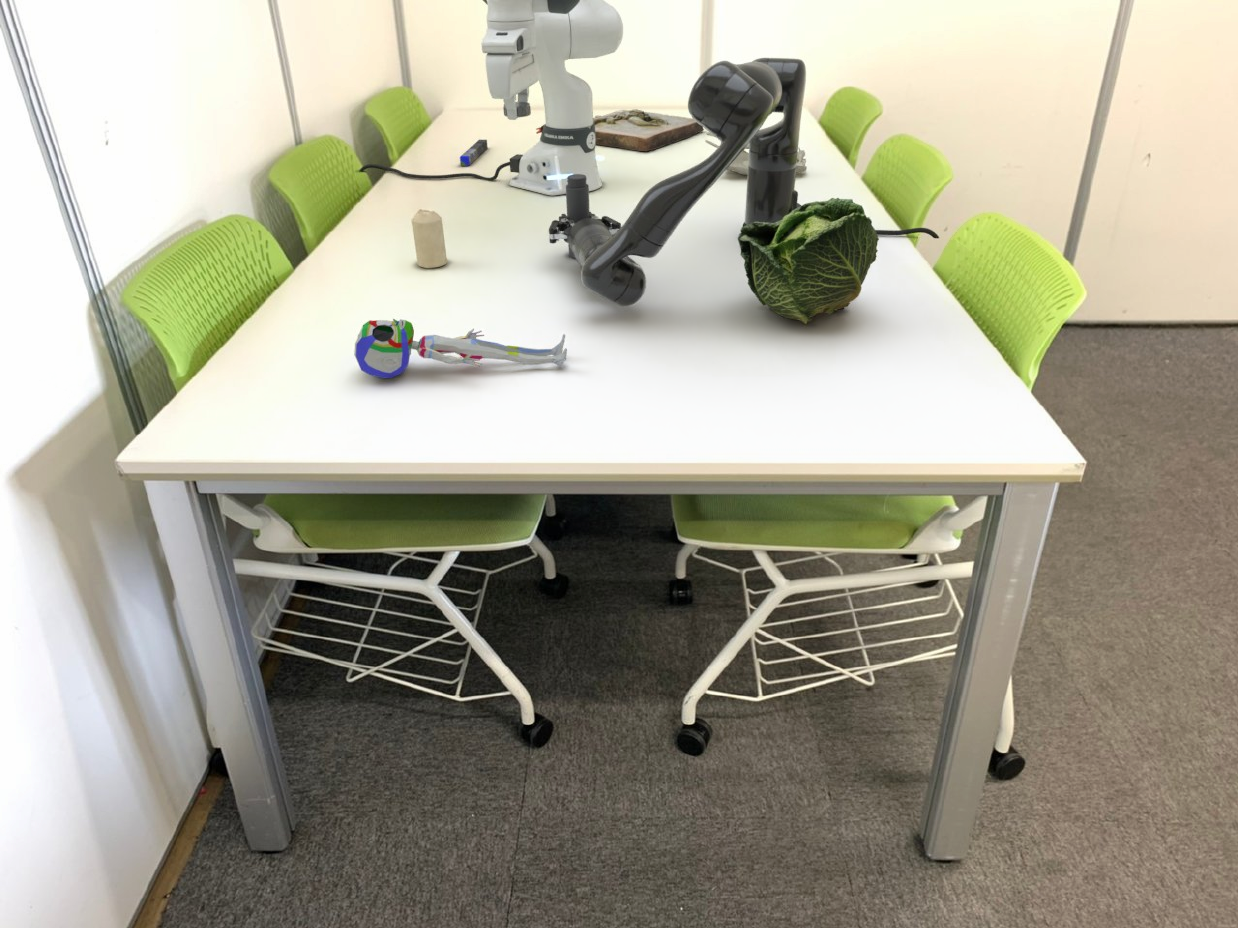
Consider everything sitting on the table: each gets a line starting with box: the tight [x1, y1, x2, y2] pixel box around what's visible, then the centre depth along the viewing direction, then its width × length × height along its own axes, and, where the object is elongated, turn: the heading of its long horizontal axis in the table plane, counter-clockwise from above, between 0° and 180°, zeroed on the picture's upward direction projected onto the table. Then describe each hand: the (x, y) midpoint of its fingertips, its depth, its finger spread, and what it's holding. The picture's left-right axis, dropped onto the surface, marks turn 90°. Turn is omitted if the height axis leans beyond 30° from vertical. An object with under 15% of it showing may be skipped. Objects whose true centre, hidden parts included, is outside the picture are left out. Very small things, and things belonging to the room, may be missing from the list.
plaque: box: [593, 108, 705, 152], centre depth 257 cm, size 30×7×30 cm
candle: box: [411, 209, 448, 269], centre depth 167 cm, size 6×6×10 cm
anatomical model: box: [705, 131, 808, 176], centre depth 220 cm, size 15×9×25 cm
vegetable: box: [737, 197, 879, 325], centre depth 143 cm, size 20×19×20 cm
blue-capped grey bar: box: [459, 139, 488, 167], centre depth 240 cm, size 2×2×20 cm
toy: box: [353, 318, 568, 379], centre depth 130 cm, size 10×8×30 cm
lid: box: [502, 101, 532, 118], centre depth 172 cm, size 5×5×2 cm
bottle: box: [565, 174, 591, 260], centre depth 169 cm, size 4×4×15 cm
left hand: (517, 116), depth 173 cm, fingers closed on lid, 5 cm apart
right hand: (575, 218), depth 172 cm, fingers closed on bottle, 4 cm apart
